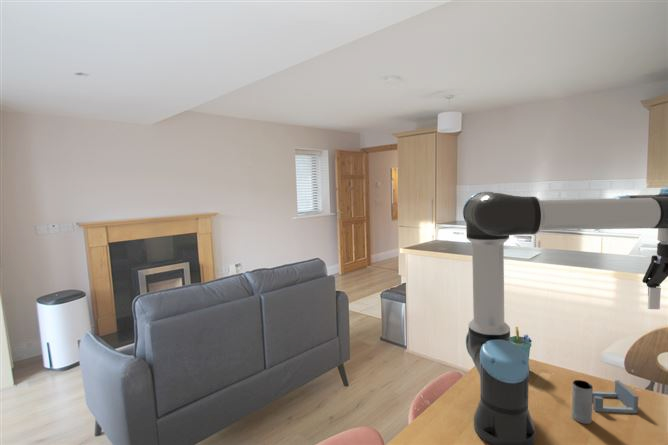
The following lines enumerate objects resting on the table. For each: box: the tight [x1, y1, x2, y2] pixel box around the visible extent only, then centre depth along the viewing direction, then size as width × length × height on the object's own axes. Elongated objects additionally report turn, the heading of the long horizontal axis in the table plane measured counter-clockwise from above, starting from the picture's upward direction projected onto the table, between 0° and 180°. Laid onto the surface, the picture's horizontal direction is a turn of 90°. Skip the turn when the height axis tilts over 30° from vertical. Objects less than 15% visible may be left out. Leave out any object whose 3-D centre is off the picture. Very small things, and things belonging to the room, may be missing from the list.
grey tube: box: [571, 379, 594, 425], centre depth 99 cm, size 4×4×10 cm
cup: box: [510, 326, 533, 363], centre depth 126 cm, size 14×8×15 cm, turn 176°
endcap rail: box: [592, 379, 639, 414], centre depth 106 cm, size 11×8×5 cm
